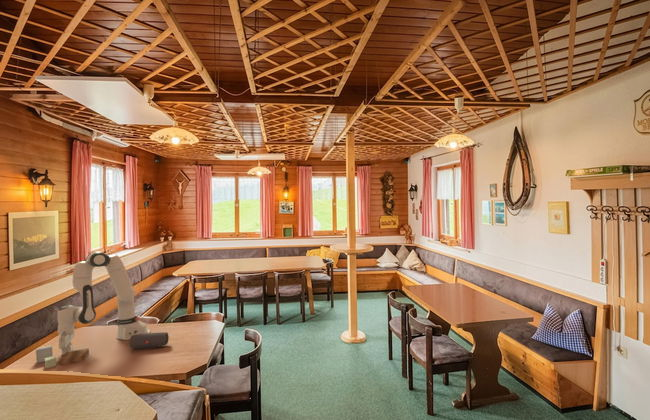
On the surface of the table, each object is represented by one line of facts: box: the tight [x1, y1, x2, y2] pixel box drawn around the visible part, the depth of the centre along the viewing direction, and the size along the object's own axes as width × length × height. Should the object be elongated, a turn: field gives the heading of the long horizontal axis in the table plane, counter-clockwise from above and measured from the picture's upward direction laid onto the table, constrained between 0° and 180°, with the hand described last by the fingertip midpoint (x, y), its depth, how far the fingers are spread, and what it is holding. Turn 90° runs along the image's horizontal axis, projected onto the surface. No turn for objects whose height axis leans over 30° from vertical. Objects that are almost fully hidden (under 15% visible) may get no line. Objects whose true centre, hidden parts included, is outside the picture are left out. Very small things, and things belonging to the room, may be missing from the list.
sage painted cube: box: [44, 355, 57, 369], centre depth 206 cm, size 5×5×5 cm
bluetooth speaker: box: [129, 331, 170, 350], centre depth 229 cm, size 23×9×10 cm, turn 99°
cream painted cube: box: [61, 342, 74, 356], centre depth 225 cm, size 5×5×5 cm
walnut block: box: [60, 348, 90, 366], centre depth 215 cm, size 12×12×4 cm
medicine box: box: [35, 344, 54, 364], centre depth 214 cm, size 8×4×9 cm, turn 129°
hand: (66, 349), depth 225 cm, fingers open, 7 cm apart
